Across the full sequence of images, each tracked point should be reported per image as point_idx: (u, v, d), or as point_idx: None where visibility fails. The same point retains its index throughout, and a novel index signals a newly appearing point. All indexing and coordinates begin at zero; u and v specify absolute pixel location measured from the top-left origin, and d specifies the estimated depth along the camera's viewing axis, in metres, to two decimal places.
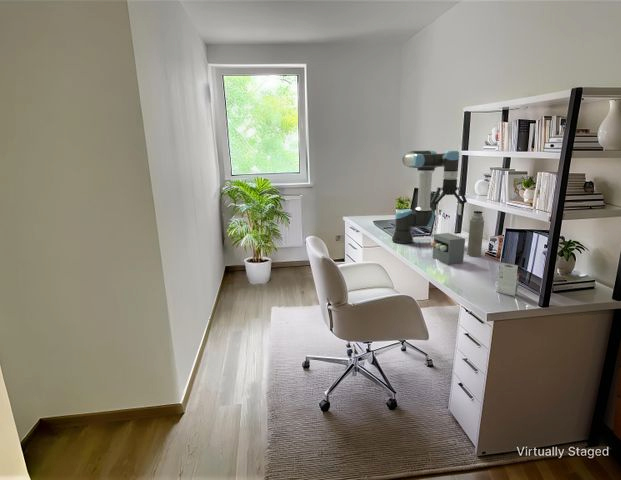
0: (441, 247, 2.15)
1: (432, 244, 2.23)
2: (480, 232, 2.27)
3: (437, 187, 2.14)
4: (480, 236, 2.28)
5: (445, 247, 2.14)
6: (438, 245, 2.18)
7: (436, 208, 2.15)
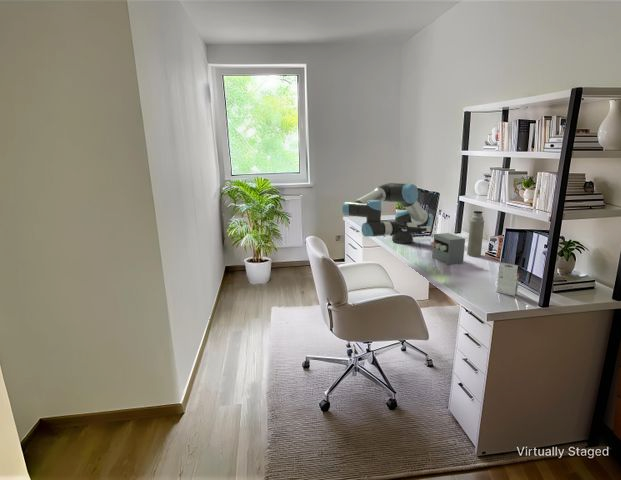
0: (441, 247, 2.15)
1: (432, 244, 2.23)
2: (480, 232, 2.27)
3: None
4: (480, 236, 2.28)
5: (445, 247, 2.14)
6: (438, 245, 2.18)
7: None
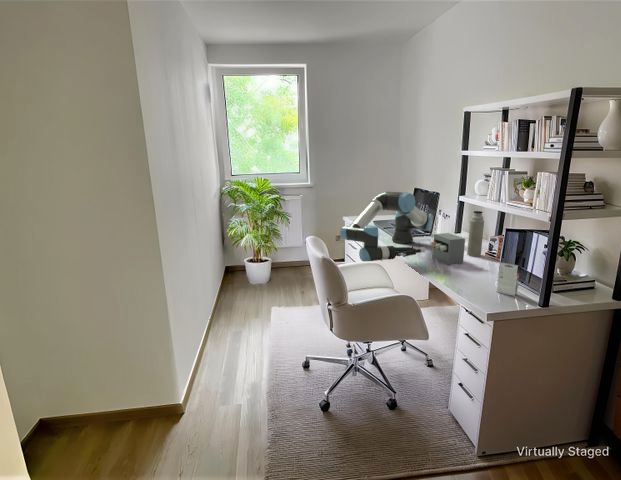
0: (441, 247, 2.15)
1: (432, 244, 2.23)
2: (480, 232, 2.27)
3: (393, 247, 2.13)
4: (480, 236, 2.28)
5: (445, 247, 2.14)
6: (438, 245, 2.18)
7: None
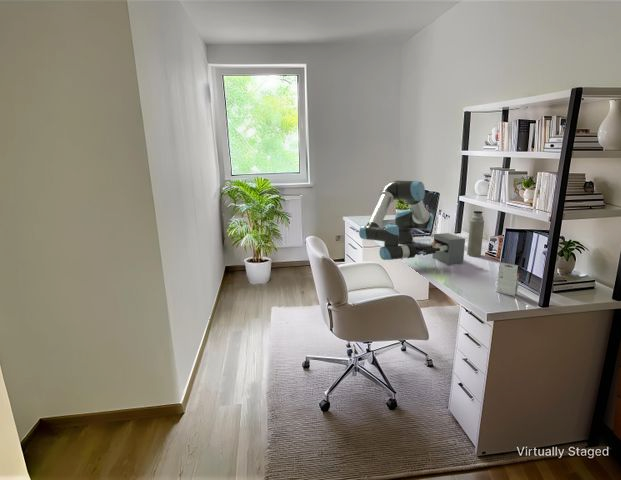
0: None
1: (432, 244, 2.23)
2: (480, 232, 2.27)
3: None
4: (480, 236, 2.28)
5: (447, 247, 2.14)
6: (438, 245, 2.18)
7: None
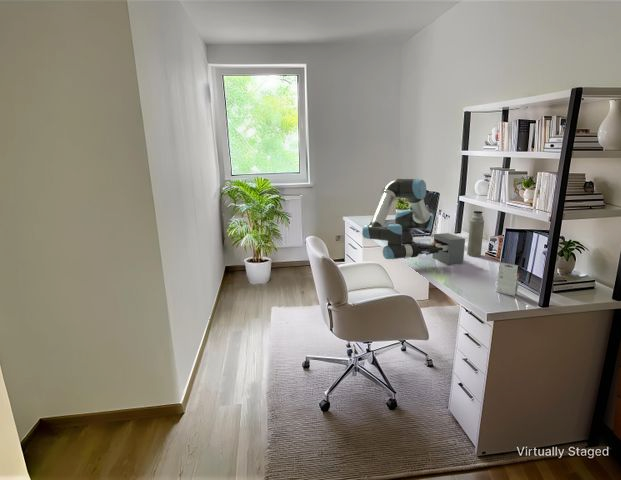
0: None
1: (432, 244, 2.23)
2: (480, 232, 2.27)
3: None
4: (480, 236, 2.28)
5: None
6: (438, 245, 2.18)
7: None
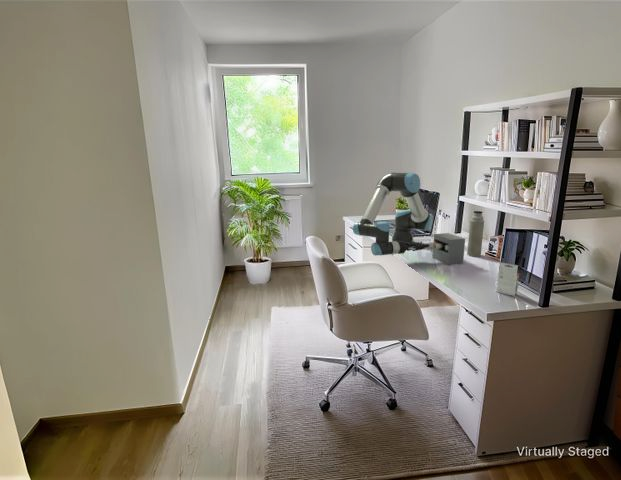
0: (446, 247, 2.15)
1: (433, 244, 2.23)
2: (480, 232, 2.27)
3: None
4: (480, 236, 2.28)
5: None
6: (438, 245, 2.18)
7: None
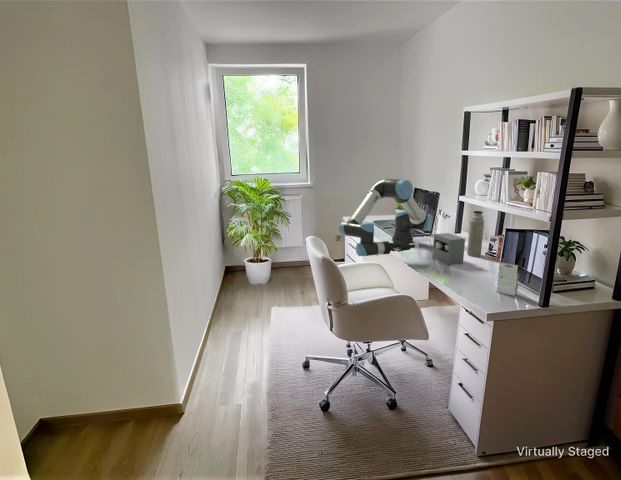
0: (446, 247, 2.15)
1: None
2: (480, 232, 2.27)
3: None
4: (480, 236, 2.28)
5: None
6: (438, 245, 2.18)
7: None
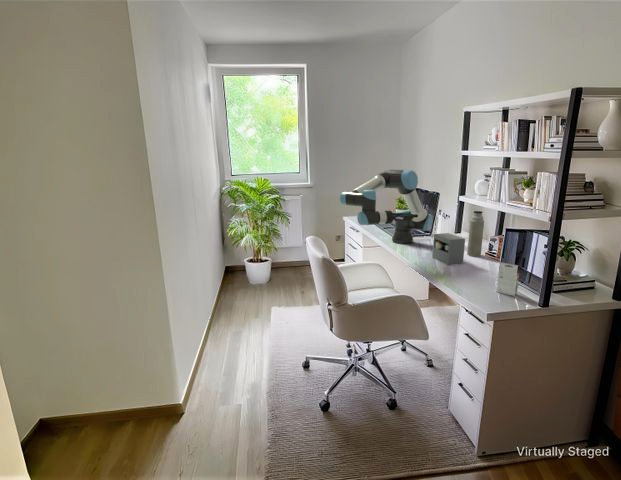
0: (446, 247, 2.15)
1: None
2: (480, 232, 2.27)
3: None
4: (480, 236, 2.28)
5: None
6: (438, 245, 2.18)
7: None
